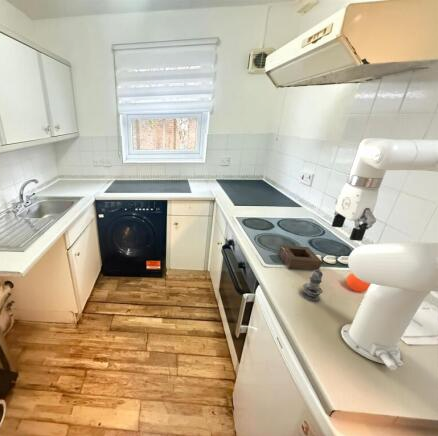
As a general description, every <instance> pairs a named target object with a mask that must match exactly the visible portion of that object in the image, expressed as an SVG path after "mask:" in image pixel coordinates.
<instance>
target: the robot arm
mask: <svg viewBox="0 0 438 436" xmlns="http://www.w3.org/2000/svg"><path fill="white" fill-rule="evenodd" d="M387 171H423V172H424V171H426V172H436V173H437V172H438V139H392V138H384V137H367V138H364V139H362V140H361V142H360V143H359V146H358V149H357V152H356V155H355V158H354V161H353V164H352V166H351V170H350V172H349V176H348V179H347V182H345V184H344V186H343V187H342V189H341V191H340V194H339V196H338V198H337V199H336V200H335V206H334V217H333V221H332V224H331V227H332V228H343V227H344V224H345V221H346V219H347V220H349V221H352V222H353V221H354V227H352V230H351V233H350V235H349V240H350V241H356V242H362V241H363V239H364V236H365V234H366V231H367V230H369V229H370V228H372V226H373V225H374V224H375V223H376V222H377V218H376V217H375V215H374V211H375V208H376V204H377V201H378V197H379V189H380V187H381V185H382V183H383V180H384V177H385V174H386V172H387ZM361 222H362V223H361ZM347 266H348V268H349V271H350V273H351V274H352V273H353V274H354V275H355V276H356V277H357V278H358V279H360V280H362V281H364V282H366V283H369V284H370V286H369V288H368V290H366V291H365V294H364V296H363V299H362V301H361V302H360V305H359V307H358V309H357V311H356V314H355V316H354V318H353V321H352V323H347V324H344V325H343V326H342V328H341V331H340V334H341V337H342V339H343V341H344V342H345V343H346V345H347V346H349V348H351V349H352V350H353V351H355V352H356V353H358V354H359V355H360V356H362V357H364V358H366V359H368V360H370V361H372V362H376V363H378V364H382V365H385V366H386V367H387V368H388V369H389V370H391V371H395V370H397V369H398V367H402V366H404V365H405V363H404V362H403V361H402V360H401V356H402V355H401V351H400V349H401V348H399V347H398V344H399V343H400V341H401V339H402V338H403V335H404V334H405V332H406V330H407V328H408V327H409V325H410V324H411V322H412V320H413V318H414V317H415V314H416V313H417V312H418V310H419V309H420V307H421V306H422V303H423V302H424V300H425V299H426V298H427V296H429V294H430V293H432V292H438V242H415V241H414V242H391V243H389V242H388V243H368V244H362V245H359V246H357V247H355V248H354V249H353V250H351V252H350V254H349V255H348V259H347Z"/></svg>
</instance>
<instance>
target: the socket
mask: <svg viewBox="0 0 438 436" xmlns="http://www.w3.org/2000/svg"><path fill="white" fill-rule="evenodd" d="M278 256H279V257H280V259H281V260H282V262H283V263H284V265H285V266H286V268H287V269H288V270H296V271H297V270H298V271H309V272H310V271H311V272H313V271H314V270H318V269H320V270H321V266H322V264H323V263H322V262H323V260H321V259H320V257H318V256H317V255H316V253H315V252H314V251H313V250H312V249H311V248H310V247H309V246H297V245H280V247H279V251H278Z"/></svg>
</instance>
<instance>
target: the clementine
mask: <svg viewBox="0 0 438 436" xmlns="http://www.w3.org/2000/svg"><path fill="white" fill-rule="evenodd" d="M345 282H346V284H347V286H348V287H349V288H350V289H351V290H353V291H355V292H358V293H359V292H367V290H368V288H369V286H370V284H369V283H366V282H364V281H362V280H360V279H358V278H357V277H356V276H355V275H354V274H353V273H352V272H351V273H349V274H348V275H347V277H346V281H345Z"/></svg>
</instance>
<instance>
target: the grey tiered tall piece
mask: <svg viewBox="0 0 438 436" xmlns="http://www.w3.org/2000/svg"><path fill="white" fill-rule="evenodd" d="M323 276H324V274H323V271H321V268H320V269H318V270H314V271H312V273H311V276H309V282H305V283H303V285H302V287H303V291H302V292H301V296H302V297H303V298H304V299H305V300H307V301H311V302H318V301H320V298H319V297H320V295H322V293H323V289H322V288H321V287H320V284H321V283H322V282H323V281H322V278H323Z"/></svg>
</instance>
